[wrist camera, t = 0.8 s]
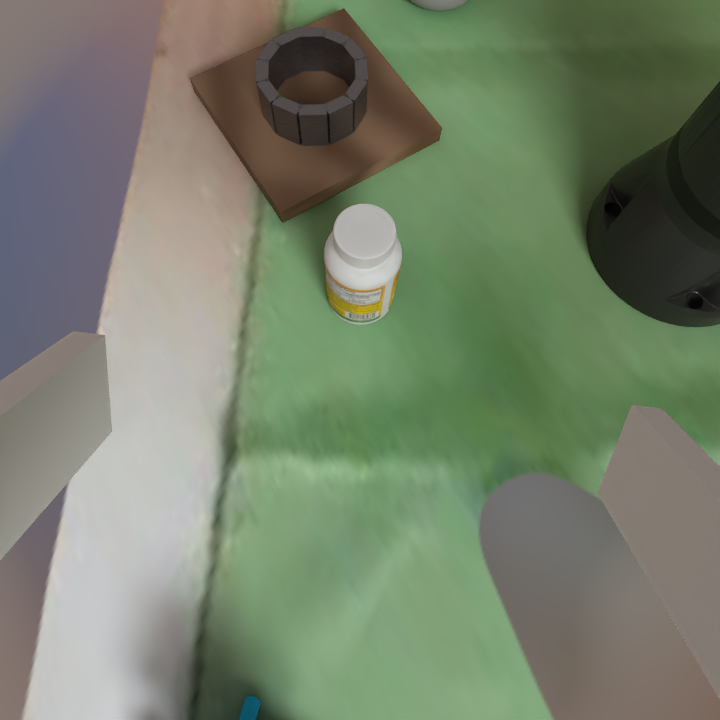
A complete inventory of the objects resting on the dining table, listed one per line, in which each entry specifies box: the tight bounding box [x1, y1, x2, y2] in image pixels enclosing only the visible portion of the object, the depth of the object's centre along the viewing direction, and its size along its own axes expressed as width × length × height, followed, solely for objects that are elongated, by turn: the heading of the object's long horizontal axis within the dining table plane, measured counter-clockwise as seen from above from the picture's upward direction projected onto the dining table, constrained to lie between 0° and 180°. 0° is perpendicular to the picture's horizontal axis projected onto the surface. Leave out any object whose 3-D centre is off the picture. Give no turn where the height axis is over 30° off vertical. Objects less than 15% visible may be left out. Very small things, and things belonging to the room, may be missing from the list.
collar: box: [256, 27, 368, 146], centre depth 44 cm, size 9×9×4 cm
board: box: [190, 9, 442, 223], centre depth 47 cm, size 16×16×2 cm
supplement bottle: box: [324, 204, 402, 325], centre depth 38 cm, size 5×5×10 cm
